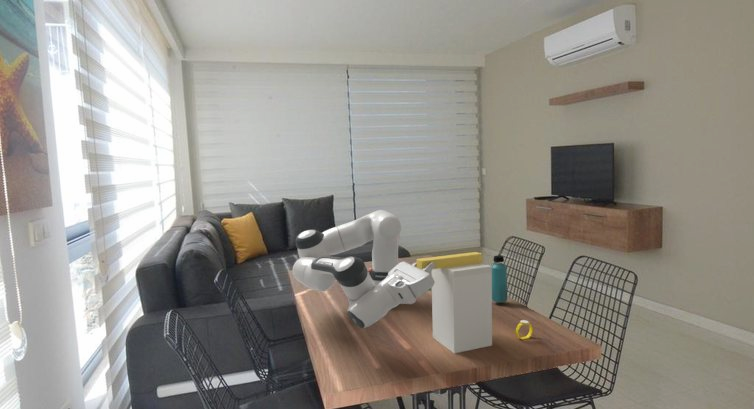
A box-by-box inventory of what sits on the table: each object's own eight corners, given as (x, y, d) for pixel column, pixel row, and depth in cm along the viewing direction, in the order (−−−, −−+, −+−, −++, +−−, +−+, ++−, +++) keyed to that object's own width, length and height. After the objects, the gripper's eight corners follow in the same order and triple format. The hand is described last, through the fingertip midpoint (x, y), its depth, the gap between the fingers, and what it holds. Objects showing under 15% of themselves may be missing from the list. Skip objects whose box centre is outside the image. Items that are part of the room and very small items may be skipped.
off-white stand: (454, 353, 139) (453, 271, 136) (432, 337, 152) (431, 262, 149) (492, 345, 144) (491, 266, 141) (468, 330, 157) (467, 257, 154)
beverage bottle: (508, 306, 181) (508, 257, 179) (491, 305, 182) (490, 257, 180) (506, 301, 187) (506, 254, 185) (490, 300, 189) (490, 254, 187)
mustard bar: (421, 270, 138) (421, 261, 138) (416, 268, 142) (416, 259, 141) (482, 262, 146) (481, 253, 146) (475, 260, 150) (475, 251, 149)
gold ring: (528, 336, 151) (529, 319, 151) (533, 339, 148) (535, 321, 148) (513, 338, 149) (514, 320, 148) (519, 341, 146) (520, 323, 146)
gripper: (387, 287, 148) (419, 263, 152) (414, 305, 129) (450, 277, 133) (378, 272, 146) (410, 248, 150) (404, 288, 127) (441, 260, 131)
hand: (429, 262), depth 141 cm, fingers closed on mustard bar, 3 cm apart
